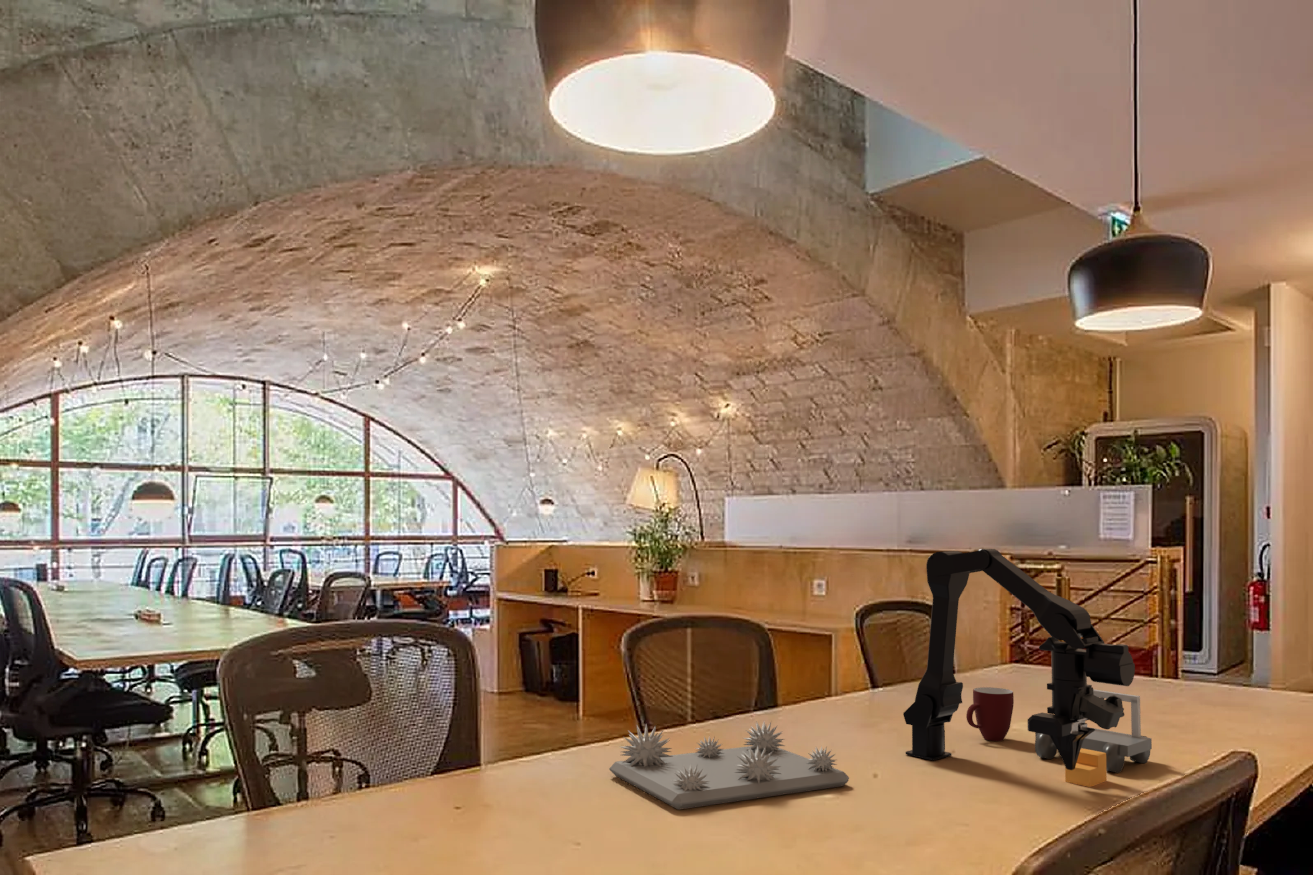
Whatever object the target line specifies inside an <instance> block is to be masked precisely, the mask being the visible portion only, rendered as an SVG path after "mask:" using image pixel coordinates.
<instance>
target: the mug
mask: <svg viewBox="0 0 1313 875" xmlns="http://www.w3.org/2000/svg"><path fill="white" fill-rule="evenodd" d="M1014 702H1015V700H1014V691H1013V690H1010V689H1008V688H1007V689H1006V688H1004V687H1003V688H1002V687H993V686H992V687H991V686H990V687H987V686H986V687H984V686H983V687H982V686H981V687H975V688H973V690H972V704H970V705H969V707H968V708H967V710H966V713H965V714H966V718H965V719H966V722H967V723H968V725H969V726H970V727H972V728H974V729H978V730H979V733H980V734H981V736H982V738H983V739H984V740H986V741H989V742H990V741H991V742H1002V741H1004V740H1005V738H1006V736H1007V734H1008V733H1009V731H1010V727H1011V722H1012V716H1013V711H1014ZM973 714H975V719H976V723H975V722H974V720H973Z"/></svg>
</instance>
